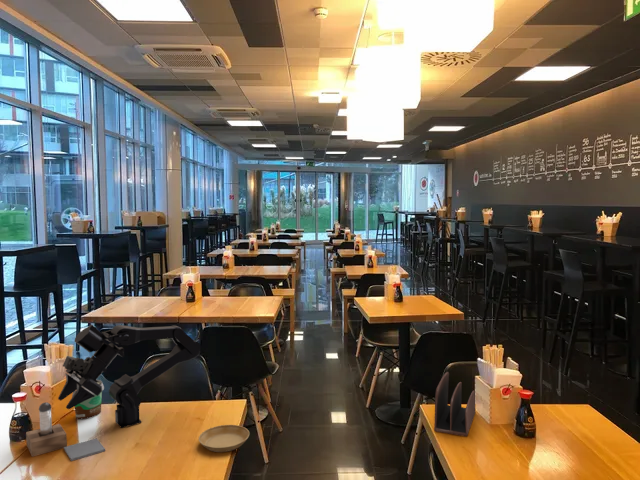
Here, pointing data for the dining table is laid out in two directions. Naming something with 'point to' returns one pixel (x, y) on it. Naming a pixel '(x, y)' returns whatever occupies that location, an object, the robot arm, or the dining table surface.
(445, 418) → the letter holder
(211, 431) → the plant saucer
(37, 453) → the block
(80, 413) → the food container
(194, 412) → the dining table surface
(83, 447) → the slate pad
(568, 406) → the dining table surface
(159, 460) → the dining table surface
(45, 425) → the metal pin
